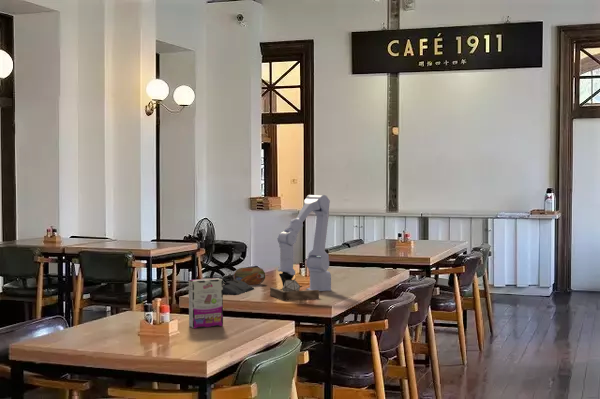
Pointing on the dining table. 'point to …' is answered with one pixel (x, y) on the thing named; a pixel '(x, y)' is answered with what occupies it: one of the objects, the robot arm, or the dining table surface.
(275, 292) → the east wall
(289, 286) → the game die
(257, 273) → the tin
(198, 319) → the candy bar box
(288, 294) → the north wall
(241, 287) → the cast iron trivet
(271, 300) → the dining table surface
